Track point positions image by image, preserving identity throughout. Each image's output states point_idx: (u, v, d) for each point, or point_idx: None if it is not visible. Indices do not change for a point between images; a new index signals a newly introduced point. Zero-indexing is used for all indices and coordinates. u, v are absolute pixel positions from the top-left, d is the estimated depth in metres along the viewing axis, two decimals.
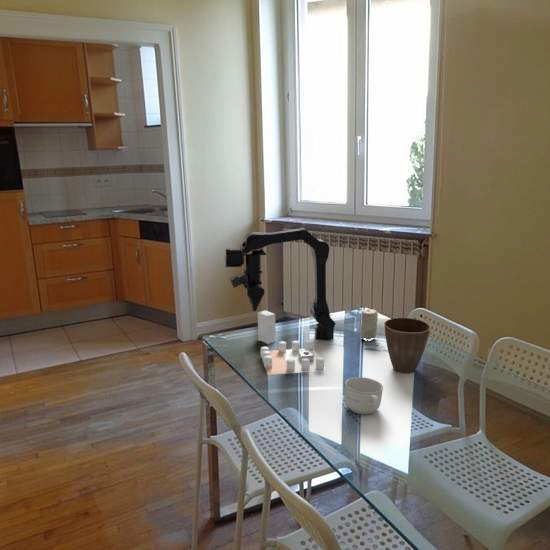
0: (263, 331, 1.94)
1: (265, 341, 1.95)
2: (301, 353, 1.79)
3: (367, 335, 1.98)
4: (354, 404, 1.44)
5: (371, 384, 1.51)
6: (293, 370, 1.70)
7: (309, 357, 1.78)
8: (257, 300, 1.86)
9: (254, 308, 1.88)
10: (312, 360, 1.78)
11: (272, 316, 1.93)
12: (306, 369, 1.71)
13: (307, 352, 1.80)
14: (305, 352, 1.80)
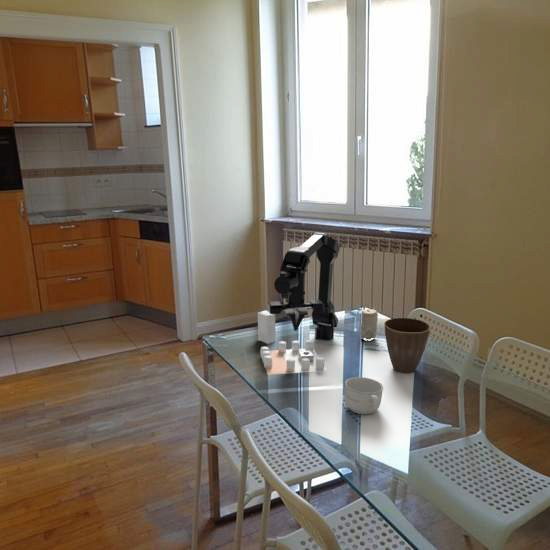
0: (263, 331, 1.94)
1: (265, 341, 1.95)
2: (301, 353, 1.79)
3: (367, 335, 1.98)
4: (354, 404, 1.44)
5: (371, 384, 1.51)
6: (293, 370, 1.70)
7: (309, 357, 1.78)
8: None
9: (293, 327, 1.76)
10: (312, 360, 1.78)
11: (272, 316, 1.93)
12: (306, 369, 1.71)
13: (307, 352, 1.80)
14: (305, 352, 1.80)
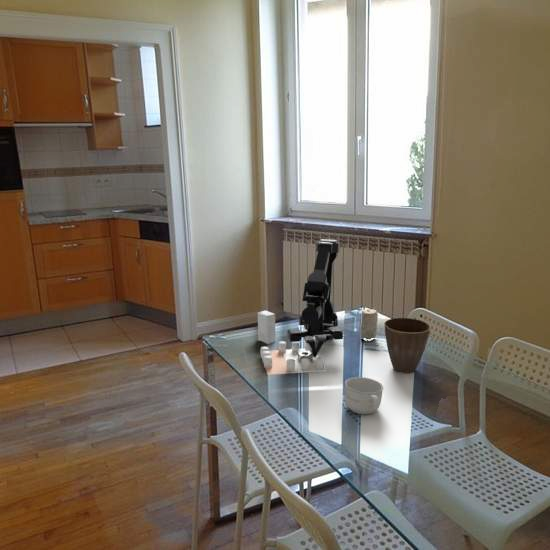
0: (263, 331, 1.94)
1: (265, 341, 1.95)
2: (300, 353, 1.79)
3: (367, 335, 1.98)
4: (354, 404, 1.44)
5: (371, 384, 1.51)
6: (293, 370, 1.70)
7: (308, 357, 1.77)
8: None
9: (312, 354, 1.80)
10: (311, 360, 1.78)
11: (272, 316, 1.93)
12: (306, 369, 1.71)
13: (306, 352, 1.80)
14: (304, 352, 1.80)
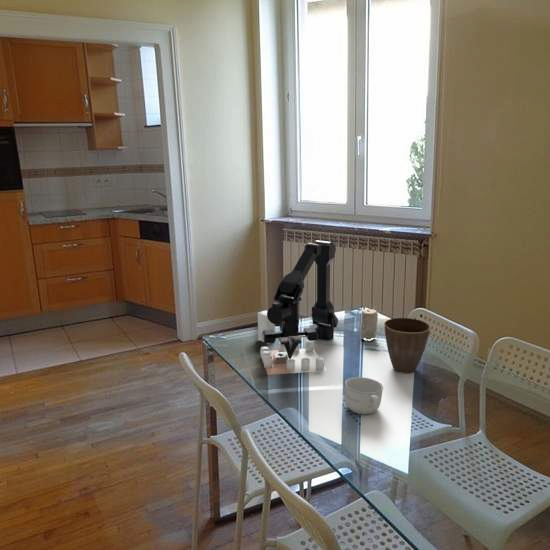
0: None
1: None
2: (275, 355, 1.78)
3: (367, 335, 1.98)
4: (354, 404, 1.44)
5: (371, 384, 1.51)
6: (293, 370, 1.70)
7: (283, 359, 1.76)
8: None
9: None
10: (286, 361, 1.77)
11: None
12: (306, 369, 1.71)
13: (282, 353, 1.78)
14: (279, 354, 1.78)
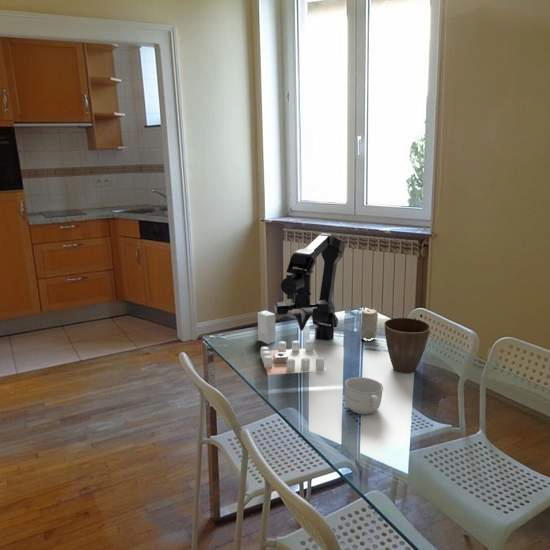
0: (263, 331, 1.94)
1: (265, 341, 1.95)
2: (275, 355, 1.78)
3: (367, 335, 1.98)
4: (354, 404, 1.44)
5: (371, 384, 1.51)
6: (293, 370, 1.70)
7: (283, 359, 1.76)
8: None
9: (299, 327, 1.81)
10: (286, 361, 1.77)
11: (272, 316, 1.93)
12: (306, 369, 1.71)
13: (282, 353, 1.78)
14: (279, 354, 1.78)
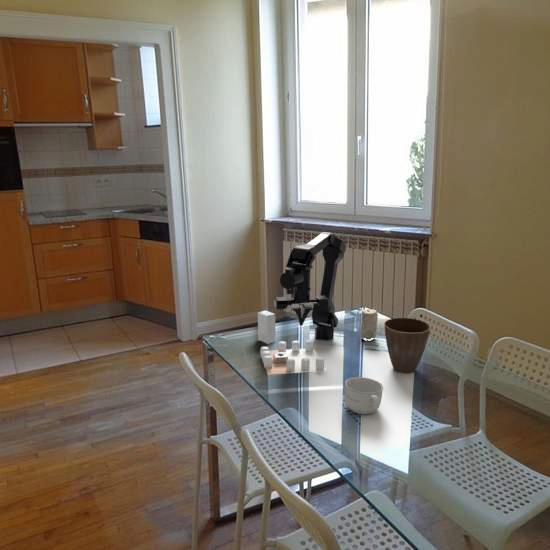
0: (263, 331, 1.94)
1: (265, 341, 1.95)
2: (275, 355, 1.78)
3: (367, 335, 1.98)
4: (354, 404, 1.44)
5: (371, 384, 1.51)
6: (293, 370, 1.70)
7: (283, 359, 1.76)
8: None
9: None
10: (286, 361, 1.77)
11: (272, 316, 1.93)
12: (306, 369, 1.71)
13: (282, 353, 1.78)
14: (279, 354, 1.78)
